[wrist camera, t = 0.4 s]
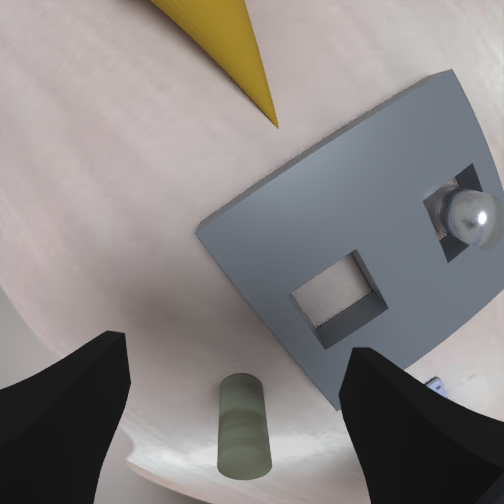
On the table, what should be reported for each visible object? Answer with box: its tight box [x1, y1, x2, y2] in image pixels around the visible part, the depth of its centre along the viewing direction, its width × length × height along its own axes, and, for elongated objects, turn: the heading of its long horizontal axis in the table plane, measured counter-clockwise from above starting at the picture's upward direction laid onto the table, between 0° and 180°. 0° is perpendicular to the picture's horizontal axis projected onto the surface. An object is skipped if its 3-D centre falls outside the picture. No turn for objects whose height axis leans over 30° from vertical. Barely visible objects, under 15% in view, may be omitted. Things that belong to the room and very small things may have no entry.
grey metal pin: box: [423, 184, 504, 251], centre depth 16 cm, size 3×3×5 cm
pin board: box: [195, 69, 504, 411], centre depth 18 cm, size 15×17×2 cm
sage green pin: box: [217, 374, 272, 480], centre depth 18 cm, size 3×3×7 cm
